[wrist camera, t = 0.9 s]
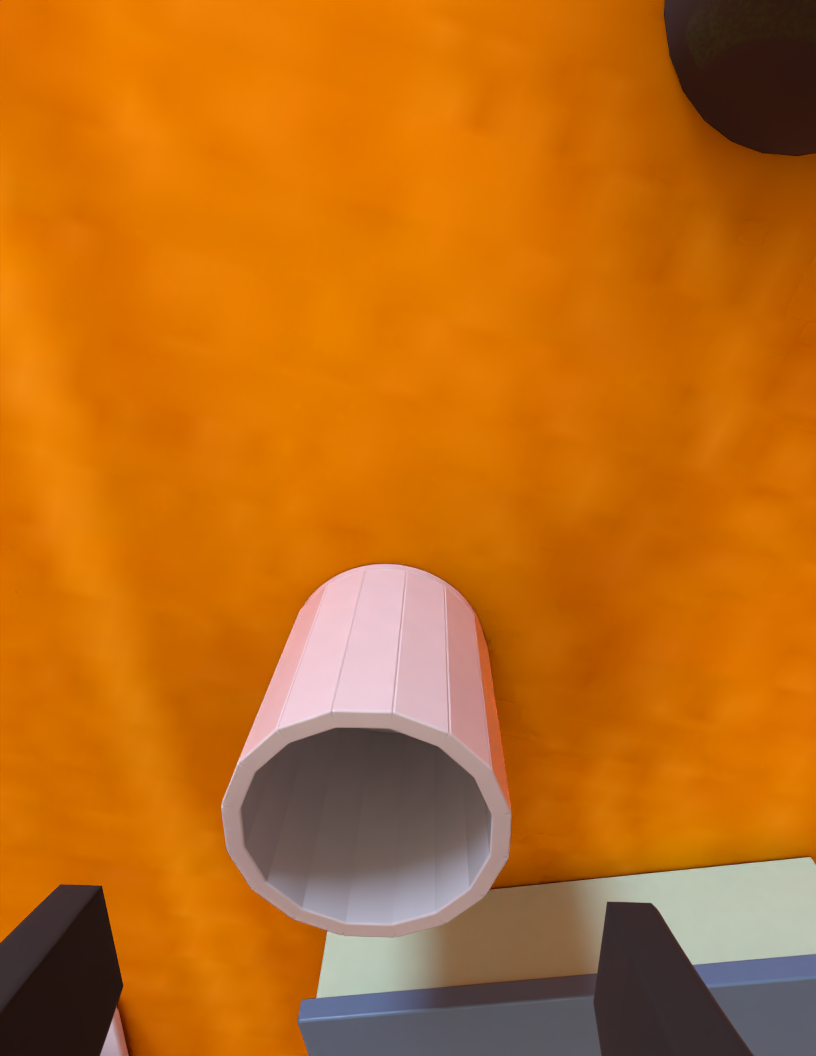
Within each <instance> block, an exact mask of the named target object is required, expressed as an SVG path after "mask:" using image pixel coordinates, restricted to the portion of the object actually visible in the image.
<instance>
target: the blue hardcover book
mask: <svg viewBox="0 0 816 1056" xmlns="http://www.w3.org/2000/svg"><path fill="white" fill-rule="evenodd" d="M607 902H639V903H652V904H653V905H654V906H655V907H656V908H657V909H658V910H659V912H660V914H661V915H662V917H663V919H664V920H665V922H666V924H667V925H668V927H669V928H670V930H671V932H672V933H673V935H674V936H675V938H676V940H677V941H678V943H679V945H680V946H681V948H682V949H683V951H684V952H685V954H686V956H687V957H688V959H689V960H690V962H691V963H692V965H693V966H694V968H695V970H696V971H697V973H698V974H699V976H700V977H701V979H702V980H703V982H704V983H705V985H706V986H707V988H708V989H709V991H710V992H711V994H712V995H713V997H714V998H715V1000H716V1001H717V1003H718V1004H719V1006H720V1007H721V1009H722V1010H723V1012H724V1013H725V1015H726V1016H727V1018H728V1019H729V1021H730V1022H731V1024H732V1025H733V1027H734V1028H735V1029H736V1031H737V1032H738V1034H739V1035H740V1037H741V1038H742V1040H743V1041H744V1042H745V1044H746V1045H747V1047H748V1048H749V1049H750V1051H751V1052H752V1054H753V1055H754V1056H816V864H815V863H814V861H813V859H812V858H811V857H804V858H794V859H784V860H775V861H765V862H755V863H745V864H735V865H726V866H716V867H706V868H696V869H686V870H677V871H667V872H657V873H647V874H637V875H628V876H618V877H608V878H598V879H588V880H578V881H569V882H559V883H549V884H539V885H529V886H520V887H510V888H500V889H490V890H489V891H488V893H487V894H486V896H484V898H483V899H481V900H480V901H478V902H477V903H475V904H474V905H473V906H471V907H470V908H468V909H467V910H465V911H464V912H462V913H461V914H459V915H458V916H457V917H455V918H454V919H452V920H451V921H449V922H448V923H445V924H444V925H441V926H437V927H433V928H430V929H426V930H422V931H419V932H415V933H411V934H407V935H404V936H400V937H396V936H395V937H394V938H390V937H359V936H344V935H338V934H335V933H332V932H329V931H327V936H326V942H325V948H324V955H323V961H322V967H321V973H320V979H319V985H318V991H317V997H316V998H313V999H303V1000H302V1001H301V1005H300V1010H299V1016H298V1025H299V1028H300V1031H301V1033H302V1036H303V1039H304V1042H305V1045H306V1048H307V1051H308V1054H309V1056H602V1055H601V1049H600V1043H599V1036H598V1030H597V1024H596V1017H595V1011H594V1004H593V1001H594V994H595V987H596V979H597V972H598V965H599V957H600V950H601V942H602V935H603V928H604V920H605V913H606V906H607Z"/></svg>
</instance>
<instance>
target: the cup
mask: <svg viewBox="0 0 816 1056" xmlns="http://www.w3.org/2000/svg"><path fill="white" fill-rule="evenodd" d="M664 17H665V24H666V32H667V39H668V47H669V54H670V57H671V60H672V63H673V65H674V68H675V70H676V73H677V76H678V78H679V81H680V83H681V86H682V89H683V91H684V93H685V94H686V95H687V97H688V98H689V99H690V101H691V102H692V104H693V105H694V106H695V108H696V109H697V111H698V112H699V113H700V115H701V116H702V117H703V119H704V120H705V121H706V122H708V123H709V124H710V125H711V126H713V127H714V128H715V129H716V130H718V131H719V132H720V133H722V134H723V135H724V136H725V137H727V138H728V139H729V140H731V141H733V142H735V143H738V144H740V145H743V146H746V147H748V148H751V149H753V150H756V151H758V152H761V153H768V154H780V155H791V156H800V155H806V154H813V153H816V0H665V8H664Z"/></svg>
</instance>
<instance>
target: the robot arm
mask: <svg viewBox="0 0 816 1056" xmlns="http://www.w3.org/2000/svg"><path fill="white" fill-rule="evenodd" d="M122 988H123V982H122V978H121V973H120V968H119V964H118V959H117V954H116V950H115V945H114V941H113V936H112V931H111V927H110V922H109V917H108V913H107V908H106V903H105V899H104V894H103V889H102V886H91V885H59V886H58V887H57V888H56V889H55V890H54V891H53V892H52V893H51V894H50V895H49V896H48V897H47V898H46V899H45V900H44V901H43V902H42V903H41V904H40V905H38V906H37V907H36V908H35V909H34V910H33V911H32V912H31V913H30V914H29V915H28V916H27V917H26V918H25V919H24V920H23V921H22V922H21V923H20V924H19V925H18V926H17V927H16V928H15V929H14V930H13V931H12V932H11V933H10V934H9V935H8V936H7V937H6V938H5V939H4V940H3V941H2V942H1V943H0V1056H129V1055H128V1050H127V1046H126V1041H125V1036H124V1032H123V1027H122V1023H121V1018H120V1014H119V1011H118V1009H117V1004H118V1000H119V997H120V994H121V991H122ZM593 1004H594V1011H595V1017H596V1024H597V1030H598V1036H599V1043H600V1049H601V1055H602V1056H754V1055H753V1054H752V1052H751V1051H750V1049H749V1048H748V1047H747V1045H746V1044H745V1042H744V1041H743V1040H742V1038H741V1037H740V1035H739V1034H738V1032H737V1031H736V1029H735V1028H734V1027H733V1025H732V1024H731V1022H730V1021H729V1019H728V1018H727V1016H726V1015H725V1013H724V1012H723V1010H722V1009H721V1007H720V1006H719V1004H718V1003H717V1001H716V1000H715V998H714V997H713V995H712V994H711V992H710V991H709V989H708V988H707V986H706V985H705V983H704V982H703V980H702V979H701V977H700V976H699V974H698V973H697V971H696V970H695V968H694V966H693V965H692V963H691V962H690V960H689V959H688V957H687V956H686V954H685V952H684V951H683V949H682V948H681V946H680V945H679V943H678V941H677V940H676V938H675V936H674V935H673V933H672V932H671V930H670V928H669V927H668V925H667V924H666V922H665V920H664V919H663V917H662V915H661V914H660V912H659V910H658V909H657V908H656V907H655V906H654V905H653V904H652V903H639V902H607V906H606V913H605V920H604V928H603V935H602V942H601V950H600V957H599V965H598V972H597V979H596V987H595V994H594V1001H593Z"/></svg>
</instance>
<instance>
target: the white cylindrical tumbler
mask: <svg viewBox="0 0 816 1056" xmlns="http://www.w3.org/2000/svg"><path fill="white" fill-rule="evenodd" d="M221 810H222V818H223V826H224V834H225V843H226V849H227V852H228V854H229V855H230V857H231V858H232V860H233V861H234V863H235V864H236V866H237V868H238V869H239V871H240V872H241V874H242V875H243V877H244V878H245V880H246V881H247V883H248V885H249V886H250V888H251V889H253V891H254V892H256V893H257V894H258V895H260V896H261V897H262V898H264V899H265V900H267V901H268V902H269V903H271V904H272V905H273V906H275V907H276V908H278V909H279V910H280V911H282V912H283V913H284V914H286V915H287V916H289V917H290V918H292V919H293V918H294V920H296V921H299V922H302V923H305V924H308V925H311V926H314V927H317V928H320V929H323V930H326V931H329V932H332V933H335V934H338V935H344V936H359V937H390V938H394V937H395V936H396V937H400V936H404V935H407V934H411V933H415V932H419V931H422V930H426V929H430V928H433V927H437V926H441V925H444V924H445V923H448V922H449V921H451V920H452V919H454V918H455V917H457V916H458V915H459V914H461V913H462V912H464V911H465V910H467V909H468V908H470V907H471V906H473V905H474V904H475V903H477V902H478V901H480V900H481V899H483V898H484V896H486V894H487V893H488V891H489V890H490V888H491V886H492V885H493V883H494V882H495V880H496V878H497V877H498V875H499V873H500V872H501V870H502V869H503V867H504V865H505V864H506V862H507V860H508V857H509V854H510V839H511V823H512V810H511V803H510V796H509V789H508V783H507V776H506V769H505V762H504V755H503V748H502V742H501V735H500V728H499V721H498V714H497V707H496V701H495V694H494V687H493V680H492V673H491V666H490V660H489V653H488V647H487V643H486V641H485V638H484V633H483V630H482V627H481V624H480V621H479V619H478V617H477V615H476V614H475V612H474V610H473V609H472V607H471V606H470V604H469V603H468V602H467V600H466V599H465V598H464V597H463V596H462V595H461V594H460V593H459V592H458V591H457V590H456V589H454V588H453V587H452V586H451V585H450V584H448V583H447V582H445V581H443V580H442V579H440V578H439V577H437V576H434V575H432V574H430V573H428V572H426V571H423V570H420V569H417V568H413V567H409V566H403V565H395V564H374V565H368V566H362V567H358V568H355V569H351V570H348V571H346V572H344V573H341V574H339V575H337V576H335V577H333V578H332V579H330V580H329V581H327V582H325V583H324V584H323V585H322V586H321V587H319V588H318V589H317V590H316V591H315V592H314V593H313V594H312V595H311V596H310V597H309V598H308V600H307V601H306V603H305V604H304V605H303V607H302V608H301V610H300V611H299V613H298V616H297V618H296V621H295V623H294V625H293V628H292V630H291V633H290V635H289V638H288V640H287V643H286V645H285V647H284V650H283V652H282V655H281V657H280V660H279V662H278V665H277V667H276V669H275V672H274V674H273V677H272V679H271V682H270V684H269V687H268V689H267V692H266V694H265V696H264V699H263V701H262V704H261V706H260V709H259V711H258V714H257V716H256V718H255V721H254V723H253V726H252V728H251V731H250V733H249V736H248V738H247V740H246V743H245V745H244V748H243V750H242V753H241V755H240V758H239V760H238V762H237V765H236V767H235V770H234V773H233V775H232V778H231V780H230V783H229V785H228V788H227V790H226V793H225V795H224V798H223V800H222V806H221Z"/></svg>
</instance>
